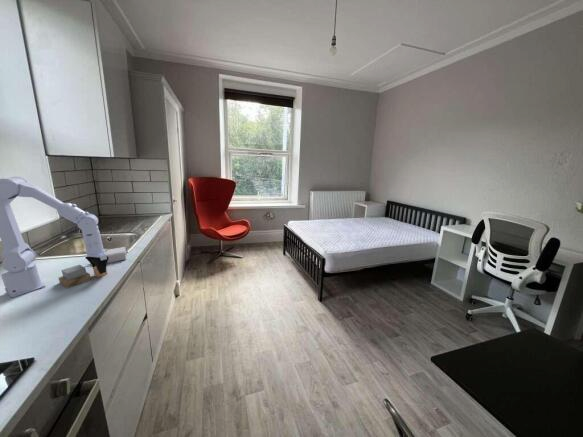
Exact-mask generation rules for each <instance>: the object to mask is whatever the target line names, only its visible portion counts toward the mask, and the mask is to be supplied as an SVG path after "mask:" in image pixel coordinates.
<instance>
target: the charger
mask: <svg viewBox="0 0 583 437" xmlns="http://www.w3.org/2000/svg"><path fill="white" fill-rule="evenodd" d="M105 255H106V256H108V257H109V259H108V261H107V264H110V263H116V262H120V261H121V262H122V261H126V260H127V250H126V246H122V247H116V248H111V249H107V251H106V252H105Z"/></svg>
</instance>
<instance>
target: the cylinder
mask: <svg viewBox="0 0 583 437" xmlns="http://www.w3.org/2000/svg"><path fill="white" fill-rule="evenodd" d="M92 269H93V270H92V271H93V275H94V277H95V278H103V277H105V276H107V275H108V271H107V268H106V272H105V273H102V274H100V273H99V271H98V269H97V267H96V266H95V267H92Z"/></svg>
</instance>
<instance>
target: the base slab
mask: <svg viewBox="0 0 583 437" xmlns="http://www.w3.org/2000/svg"><path fill="white" fill-rule="evenodd" d="M86 273H87V274H86V275H83V276H80V277H77V278H74V279H71V280H67V279H66V278H64V277H63V275H61V276H60V277H58V280H59V281H58V282H59V283H60V285H62V286H63V287H64V288H65V289H68V288H71V287H73V286H77V285H80V284H82V283H85V282H89V281H91V280H92V277H91V275H90V274H91V273H89V272H87V271H86Z"/></svg>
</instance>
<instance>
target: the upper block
mask: <svg viewBox="0 0 583 437" xmlns="http://www.w3.org/2000/svg"><path fill="white" fill-rule="evenodd" d="M61 272H62V276H63V277H64V278H66V279H67V280H71V279H74V278H77V277H80V276H83V275H86V274H87V273H88V272H87V270H86V267H85V266H82V265H81V264H77V265H74V266H71V267H67V268H64V269H61ZM86 272H87V273H86Z"/></svg>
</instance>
